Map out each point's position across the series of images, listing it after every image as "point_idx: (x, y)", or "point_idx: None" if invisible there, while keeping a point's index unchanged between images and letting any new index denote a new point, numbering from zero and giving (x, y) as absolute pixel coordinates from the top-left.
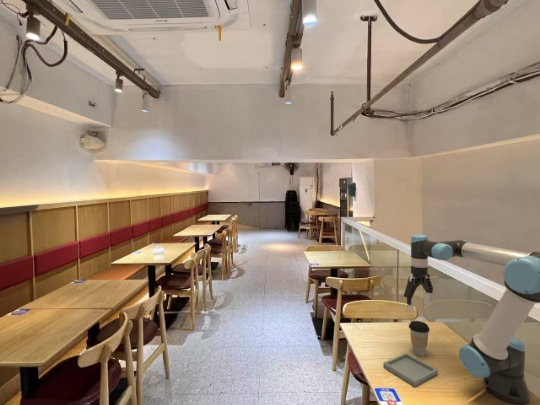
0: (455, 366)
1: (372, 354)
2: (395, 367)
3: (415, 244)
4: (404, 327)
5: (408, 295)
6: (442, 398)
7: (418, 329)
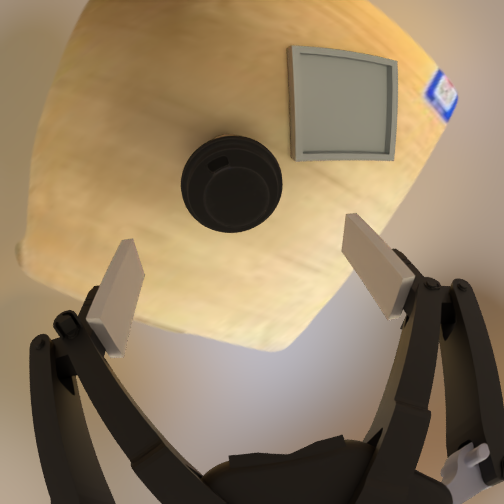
0: (183, 52)
1: None
2: (371, 134)
3: None
4: None
5: (474, 295)
6: (365, 4)
7: (270, 163)
